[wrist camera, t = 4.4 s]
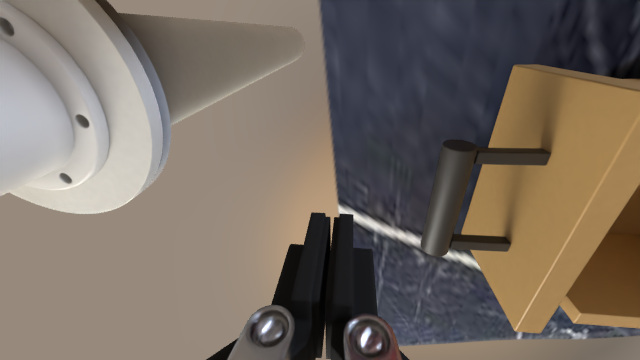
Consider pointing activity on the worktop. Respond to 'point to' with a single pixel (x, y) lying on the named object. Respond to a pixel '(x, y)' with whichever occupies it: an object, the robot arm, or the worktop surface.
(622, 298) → the wooden pull-out drawer
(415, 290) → the worktop surface
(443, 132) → the worktop surface
